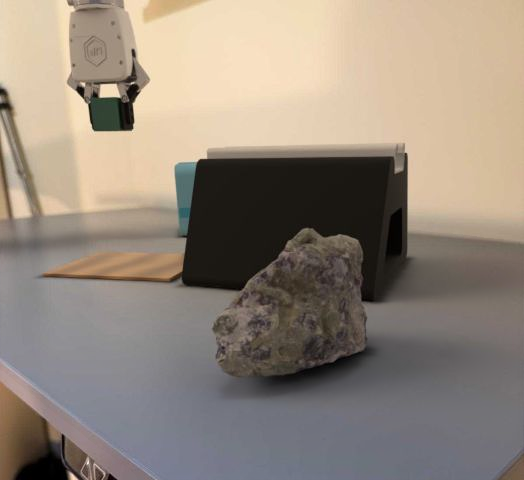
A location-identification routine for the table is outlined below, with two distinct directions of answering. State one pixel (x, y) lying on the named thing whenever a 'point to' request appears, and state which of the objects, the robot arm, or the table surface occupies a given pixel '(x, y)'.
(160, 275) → the wooden board
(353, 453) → the table surface
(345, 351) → the mineral rock
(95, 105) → the dark green block
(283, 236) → the device stand
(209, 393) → the table surface
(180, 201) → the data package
